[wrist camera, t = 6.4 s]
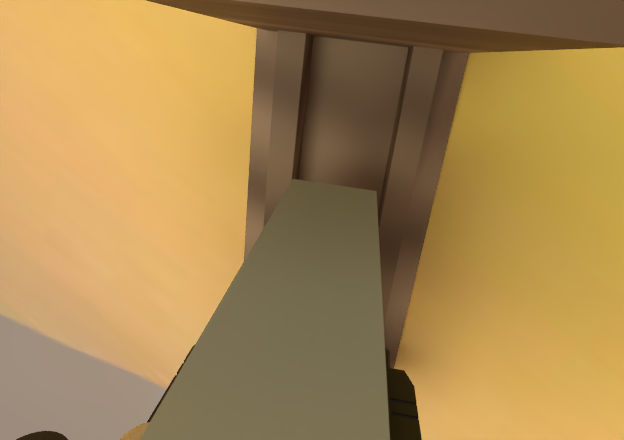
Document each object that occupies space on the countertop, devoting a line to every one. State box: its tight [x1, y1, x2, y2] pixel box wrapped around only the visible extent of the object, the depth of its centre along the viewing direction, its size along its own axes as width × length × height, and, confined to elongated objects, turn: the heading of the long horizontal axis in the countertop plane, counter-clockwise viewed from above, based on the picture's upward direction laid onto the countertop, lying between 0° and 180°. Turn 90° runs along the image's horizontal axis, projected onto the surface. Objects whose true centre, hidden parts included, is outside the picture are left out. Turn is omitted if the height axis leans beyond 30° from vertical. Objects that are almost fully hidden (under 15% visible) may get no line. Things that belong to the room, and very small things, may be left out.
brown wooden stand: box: [147, 0, 624, 369], centre depth 17 cm, size 22×10×15 cm, turn 174°
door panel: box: [140, 179, 390, 440], centre depth 11 cm, size 10×4×12 cm, turn 174°
